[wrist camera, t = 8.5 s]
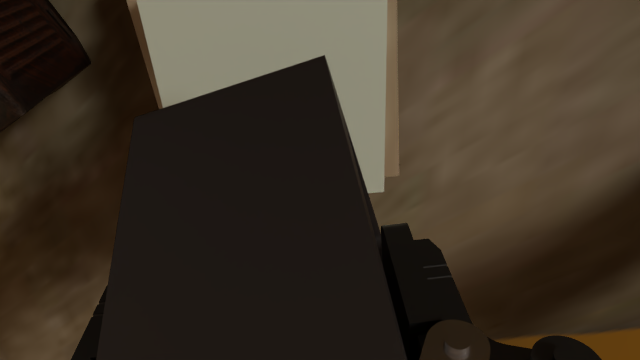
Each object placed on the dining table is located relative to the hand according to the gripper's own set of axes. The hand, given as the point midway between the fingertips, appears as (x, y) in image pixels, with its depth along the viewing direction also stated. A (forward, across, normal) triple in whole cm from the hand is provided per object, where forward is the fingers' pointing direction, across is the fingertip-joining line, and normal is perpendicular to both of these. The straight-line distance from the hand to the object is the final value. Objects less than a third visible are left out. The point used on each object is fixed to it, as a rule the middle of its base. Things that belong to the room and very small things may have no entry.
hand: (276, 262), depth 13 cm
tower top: (+15, 0, 0) cm, 15 cm away
